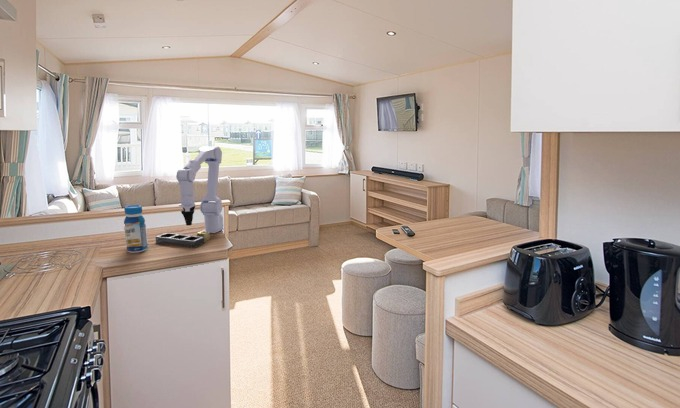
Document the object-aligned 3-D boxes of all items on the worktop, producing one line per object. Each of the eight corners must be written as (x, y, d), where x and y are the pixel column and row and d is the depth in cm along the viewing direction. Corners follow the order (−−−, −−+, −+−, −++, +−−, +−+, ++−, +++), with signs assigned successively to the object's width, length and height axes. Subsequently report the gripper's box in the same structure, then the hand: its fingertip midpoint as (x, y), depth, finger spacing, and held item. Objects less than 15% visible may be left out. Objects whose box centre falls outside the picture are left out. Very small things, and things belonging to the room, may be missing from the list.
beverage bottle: (151, 249, 174) (147, 205, 170) (133, 254, 167) (128, 209, 163) (141, 246, 178) (137, 203, 174) (122, 251, 171) (118, 206, 167)
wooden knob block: (202, 238, 191) (202, 230, 190) (209, 239, 190) (209, 231, 189) (197, 240, 187) (196, 232, 187) (204, 241, 186) (203, 233, 185)
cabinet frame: (166, 238, 190) (166, 232, 190) (204, 243, 183) (204, 237, 183) (156, 242, 184) (155, 236, 183) (194, 247, 177) (194, 241, 176)
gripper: (179, 192, 185) (181, 220, 188) (176, 198, 171) (179, 227, 174) (194, 191, 187) (196, 219, 190) (193, 197, 174) (195, 226, 176)
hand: (189, 223), depth 182 cm, fingers open, 7 cm apart
